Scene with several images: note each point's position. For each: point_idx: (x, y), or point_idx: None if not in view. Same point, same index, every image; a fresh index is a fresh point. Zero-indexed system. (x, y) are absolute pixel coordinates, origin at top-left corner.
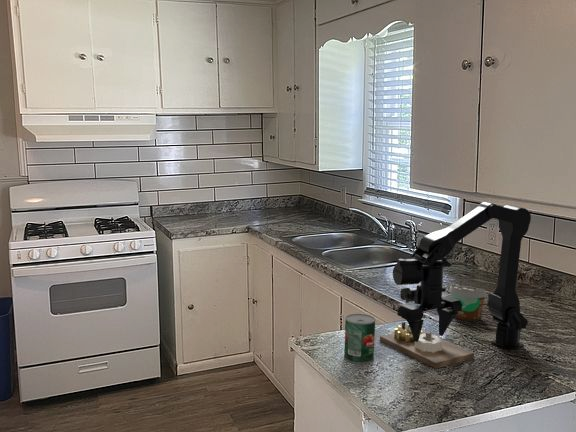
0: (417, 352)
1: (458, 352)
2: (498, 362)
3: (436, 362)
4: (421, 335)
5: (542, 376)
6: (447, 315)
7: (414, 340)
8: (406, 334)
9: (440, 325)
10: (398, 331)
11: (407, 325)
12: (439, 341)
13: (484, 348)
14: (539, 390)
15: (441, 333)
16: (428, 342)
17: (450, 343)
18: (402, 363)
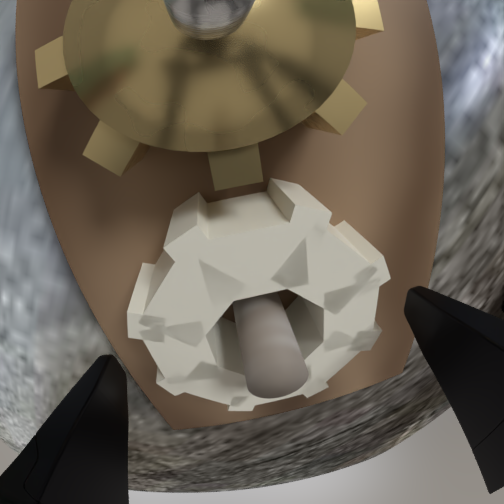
0: (128, 341)
1: (355, 371)
2: (414, 380)
3: (177, 428)
4: (247, 259)
5: (405, 426)
6: (502, 463)
7: (101, 360)
8: (90, 157)
9: (464, 349)
10: (53, 43)
11: (167, 2)
12: (302, 391)
13: (486, 280)
14: (340, 463)
15: (414, 323)
16: (209, 395)
17: (425, 264)
18: (46, 342)
